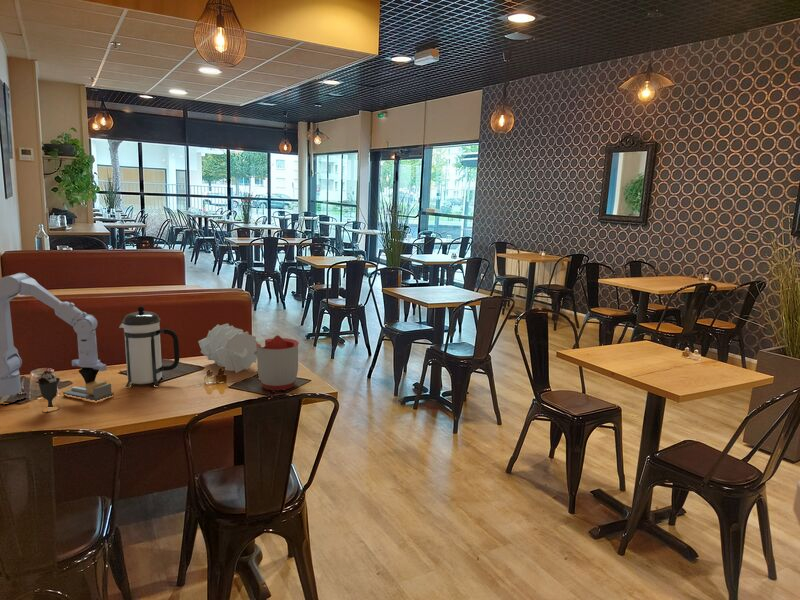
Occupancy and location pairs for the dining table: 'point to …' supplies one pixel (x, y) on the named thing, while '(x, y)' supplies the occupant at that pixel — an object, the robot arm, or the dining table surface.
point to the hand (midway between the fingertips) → (90, 387)
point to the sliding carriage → (94, 385)
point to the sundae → (48, 386)
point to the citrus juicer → (277, 363)
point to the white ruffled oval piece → (229, 347)
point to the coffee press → (145, 347)
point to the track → (98, 392)
